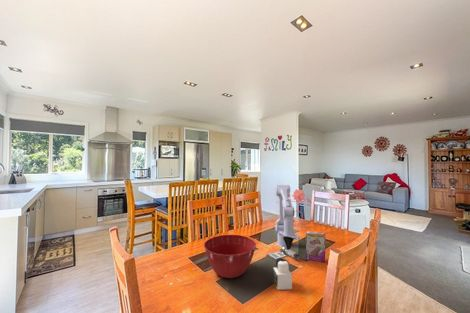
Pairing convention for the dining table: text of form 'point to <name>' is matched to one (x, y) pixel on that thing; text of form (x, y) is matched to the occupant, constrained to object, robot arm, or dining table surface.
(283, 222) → the robot arm
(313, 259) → the candy bar box
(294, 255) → the door handle
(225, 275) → the mixing bowl
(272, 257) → the plate
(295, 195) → the figurine
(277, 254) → the label
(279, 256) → the label
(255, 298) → the dining table surface
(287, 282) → the medicine bottle
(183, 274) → the dining table surface
